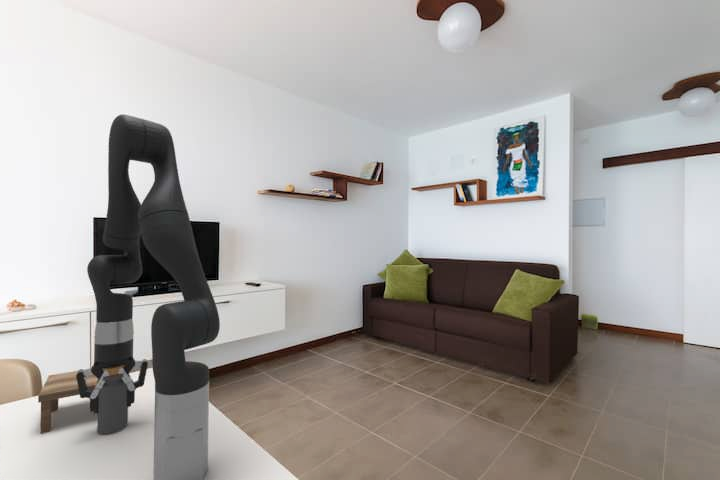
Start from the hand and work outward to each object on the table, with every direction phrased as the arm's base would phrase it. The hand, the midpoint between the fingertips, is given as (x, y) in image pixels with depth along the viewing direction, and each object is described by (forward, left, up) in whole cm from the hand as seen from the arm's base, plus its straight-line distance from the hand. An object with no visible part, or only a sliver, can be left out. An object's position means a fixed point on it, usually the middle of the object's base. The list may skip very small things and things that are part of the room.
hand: (113, 408), depth 80 cm
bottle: (0, 0, -5) cm, 5 cm away
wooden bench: (+13, +7, -5) cm, 15 cm away
